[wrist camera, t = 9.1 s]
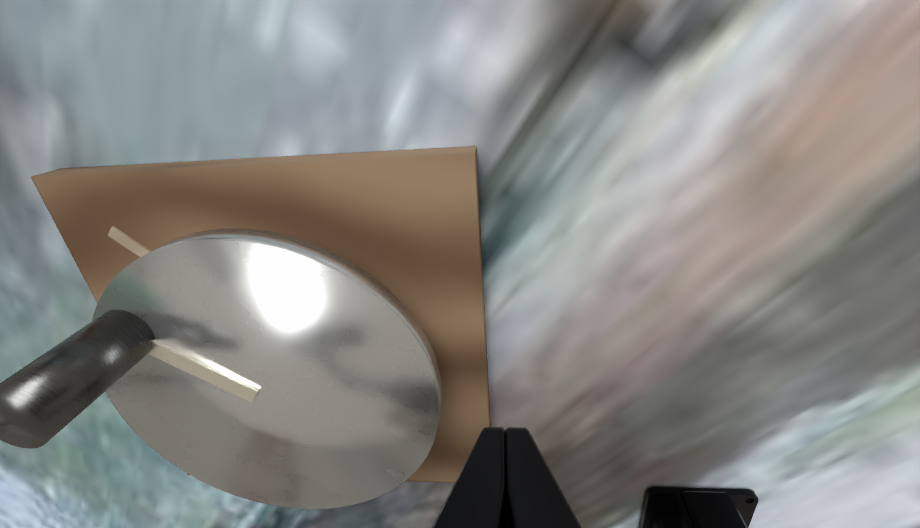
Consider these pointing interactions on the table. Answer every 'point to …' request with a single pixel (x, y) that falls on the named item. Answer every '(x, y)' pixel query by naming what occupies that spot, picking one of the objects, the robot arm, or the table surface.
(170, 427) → the handwheel
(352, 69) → the table surface
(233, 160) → the base plate
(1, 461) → the table surface
